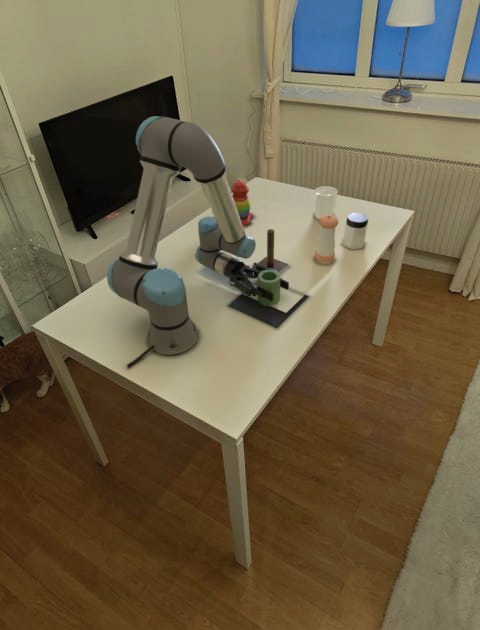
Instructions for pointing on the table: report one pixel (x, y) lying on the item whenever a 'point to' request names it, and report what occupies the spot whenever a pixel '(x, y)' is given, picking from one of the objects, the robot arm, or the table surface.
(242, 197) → the stacking bear
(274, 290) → the hollow cylinder
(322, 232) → the pepper shaker
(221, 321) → the table surface
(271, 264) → the peg stand
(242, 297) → the placemat
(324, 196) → the candle holder
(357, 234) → the jar
